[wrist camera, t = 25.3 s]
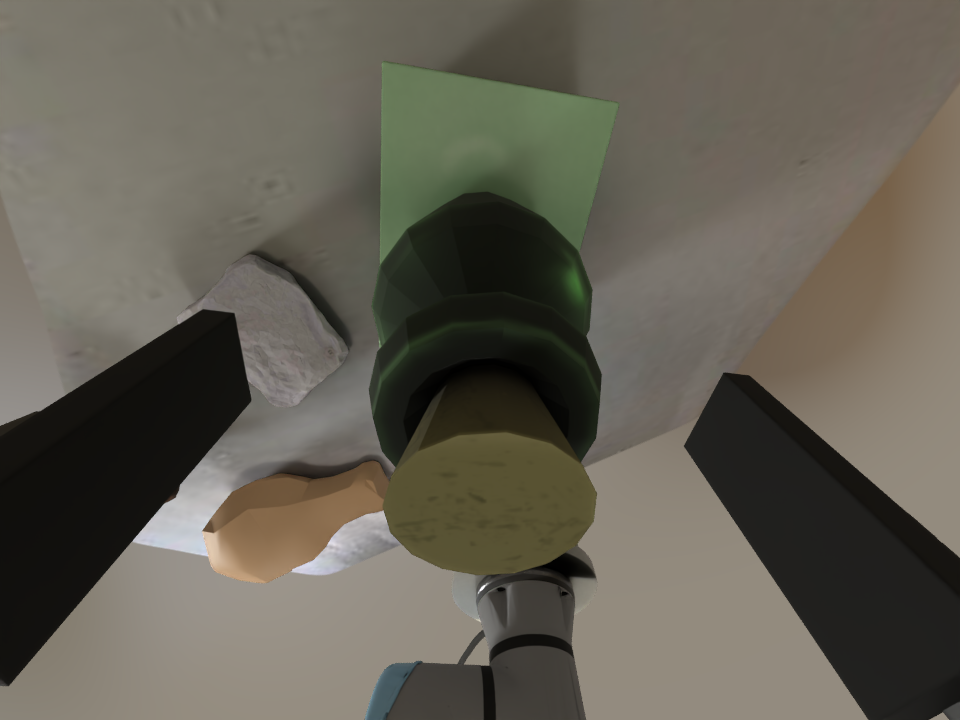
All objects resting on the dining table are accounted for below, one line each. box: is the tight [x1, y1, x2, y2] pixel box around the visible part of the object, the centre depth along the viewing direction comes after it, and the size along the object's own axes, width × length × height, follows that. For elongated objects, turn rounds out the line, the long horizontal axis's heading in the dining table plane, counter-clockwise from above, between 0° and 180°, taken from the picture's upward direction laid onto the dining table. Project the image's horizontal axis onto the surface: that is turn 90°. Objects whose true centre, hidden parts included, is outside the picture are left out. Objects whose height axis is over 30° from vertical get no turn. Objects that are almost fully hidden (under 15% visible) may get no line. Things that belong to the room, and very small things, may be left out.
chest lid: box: [379, 61, 619, 347], centre depth 23 cm, size 15×12×1 cm
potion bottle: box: [369, 192, 602, 575], centre depth 15 cm, size 8×8×18 cm
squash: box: [202, 460, 389, 583], centre depth 41 cm, size 11×20×9 cm, turn 112°
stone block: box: [177, 254, 349, 407], centre depth 33 cm, size 12×5×10 cm
